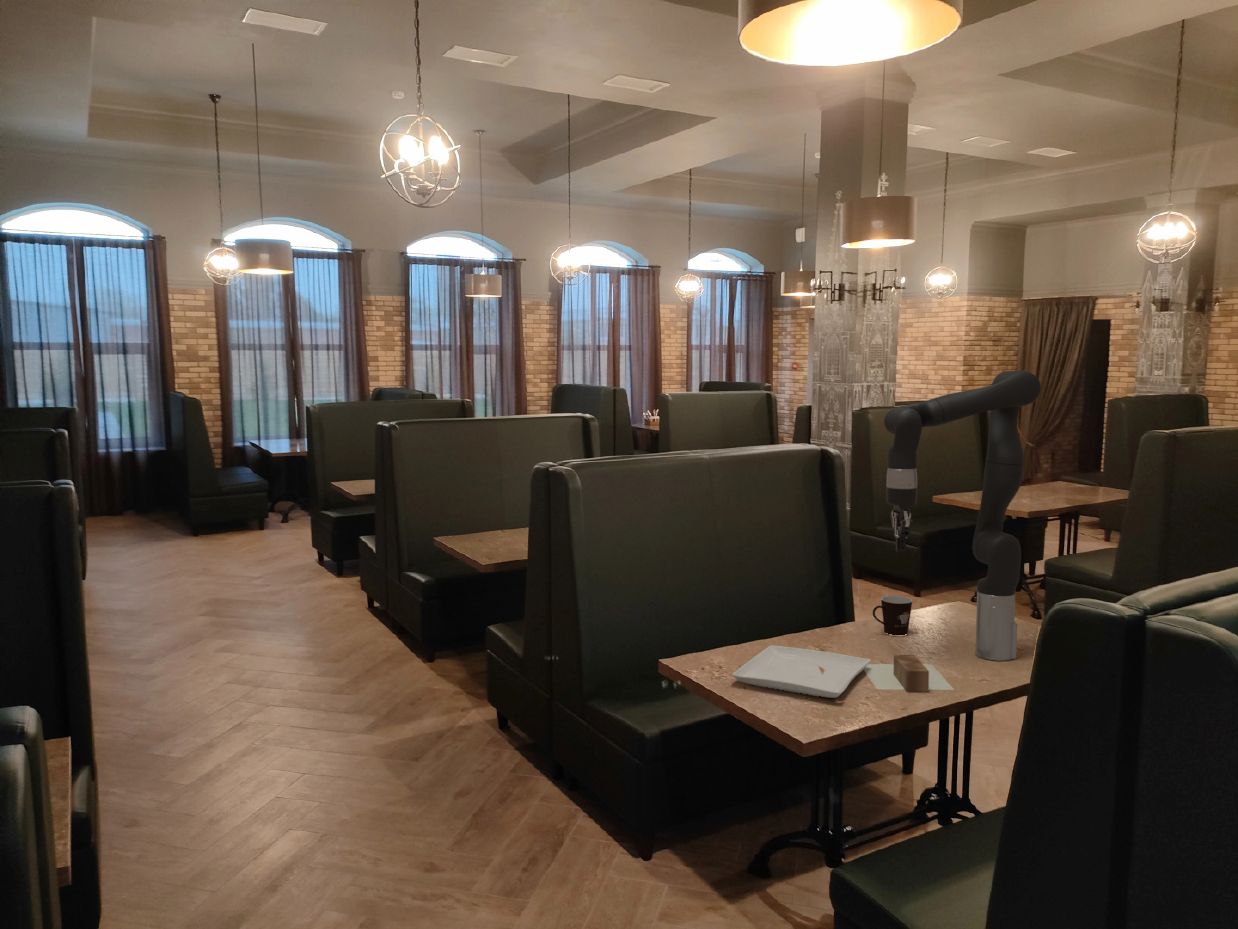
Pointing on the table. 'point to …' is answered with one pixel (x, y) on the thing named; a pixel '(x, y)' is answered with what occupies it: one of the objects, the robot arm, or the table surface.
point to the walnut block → (911, 673)
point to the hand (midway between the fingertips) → (900, 551)
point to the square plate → (801, 670)
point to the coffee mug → (895, 614)
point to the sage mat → (887, 681)
